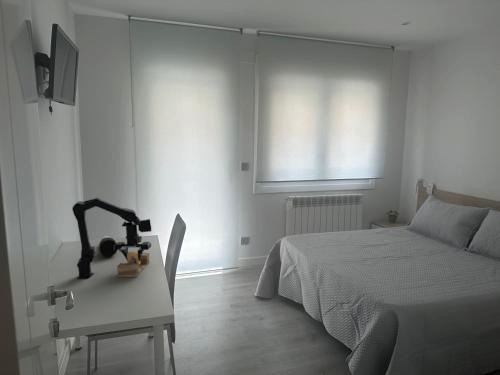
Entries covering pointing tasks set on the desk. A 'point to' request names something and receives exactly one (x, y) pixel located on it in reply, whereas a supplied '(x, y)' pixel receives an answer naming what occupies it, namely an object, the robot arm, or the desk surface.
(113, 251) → the black cylinder
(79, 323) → the desk surface
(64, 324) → the desk surface
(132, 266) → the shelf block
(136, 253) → the tan u-shaped bracket
